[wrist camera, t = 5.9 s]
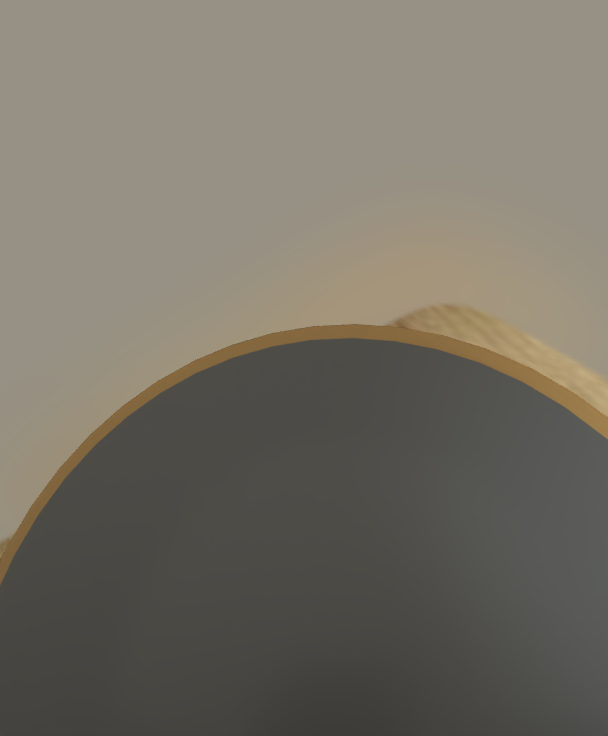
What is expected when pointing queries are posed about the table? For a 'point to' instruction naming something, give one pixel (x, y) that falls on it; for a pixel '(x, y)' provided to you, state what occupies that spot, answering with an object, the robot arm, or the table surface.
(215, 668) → the grey banded cylinder
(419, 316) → the table surface
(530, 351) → the table surface
